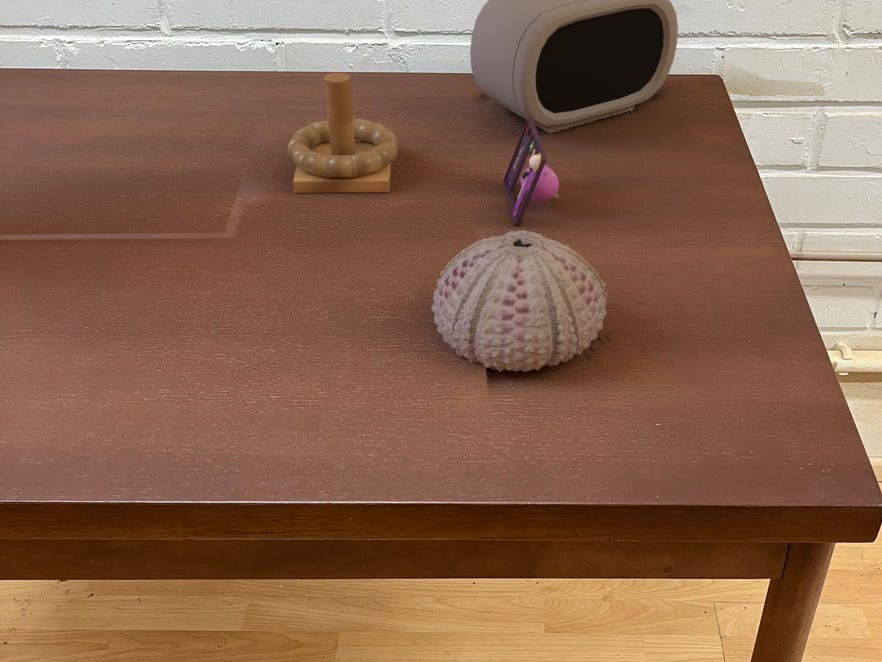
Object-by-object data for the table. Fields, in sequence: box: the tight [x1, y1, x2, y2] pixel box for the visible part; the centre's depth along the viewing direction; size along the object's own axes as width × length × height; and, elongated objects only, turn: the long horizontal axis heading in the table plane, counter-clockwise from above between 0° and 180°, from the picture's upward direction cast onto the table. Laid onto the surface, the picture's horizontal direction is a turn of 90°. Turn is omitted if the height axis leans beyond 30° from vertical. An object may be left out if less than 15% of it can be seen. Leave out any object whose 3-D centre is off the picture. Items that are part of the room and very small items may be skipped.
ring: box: [286, 118, 399, 178], centre depth 98 cm, size 11×11×2 cm
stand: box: [292, 72, 392, 194], centre depth 96 cm, size 9×9×9 cm
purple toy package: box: [502, 117, 560, 227], centre depth 92 cm, size 7×5×9 cm
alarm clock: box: [469, 0, 679, 134], centre depth 106 cm, size 21×10×13 cm, turn 123°
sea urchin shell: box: [430, 229, 609, 373], centre depth 75 cm, size 13×14×8 cm
